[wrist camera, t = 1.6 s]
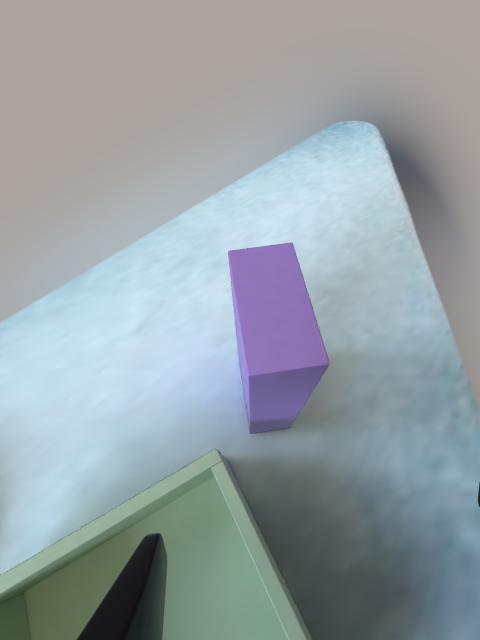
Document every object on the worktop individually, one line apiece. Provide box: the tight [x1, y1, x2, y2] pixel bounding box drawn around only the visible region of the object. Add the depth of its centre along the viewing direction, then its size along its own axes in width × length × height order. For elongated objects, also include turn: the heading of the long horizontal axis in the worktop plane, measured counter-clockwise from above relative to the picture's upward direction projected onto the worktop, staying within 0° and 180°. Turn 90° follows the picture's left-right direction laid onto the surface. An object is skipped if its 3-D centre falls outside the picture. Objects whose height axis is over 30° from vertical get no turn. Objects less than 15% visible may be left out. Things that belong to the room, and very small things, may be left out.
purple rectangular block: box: [228, 243, 330, 434], centre depth 18 cm, size 6×3×13 cm, turn 8°
